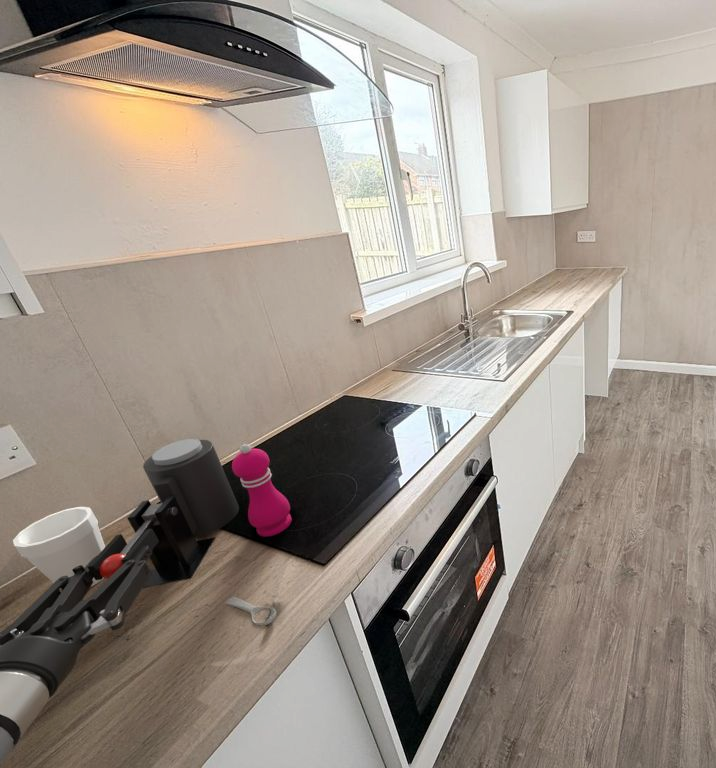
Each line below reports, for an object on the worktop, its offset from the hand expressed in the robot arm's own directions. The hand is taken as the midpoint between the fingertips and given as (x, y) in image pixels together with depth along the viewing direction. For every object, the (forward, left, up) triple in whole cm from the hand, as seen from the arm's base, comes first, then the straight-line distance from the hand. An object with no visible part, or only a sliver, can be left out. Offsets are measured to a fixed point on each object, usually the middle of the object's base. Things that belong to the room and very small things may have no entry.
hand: (137, 538), depth 67 cm
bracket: (-2, +5, -12) cm, 13 cm away
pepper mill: (+10, +15, -12) cm, 22 cm away
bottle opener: (+18, -3, -12) cm, 22 cm away
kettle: (-6, +16, -12) cm, 21 cm away
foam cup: (-16, +1, -12) cm, 20 cm away
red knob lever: (0, 0, -2) cm, 2 cm away
